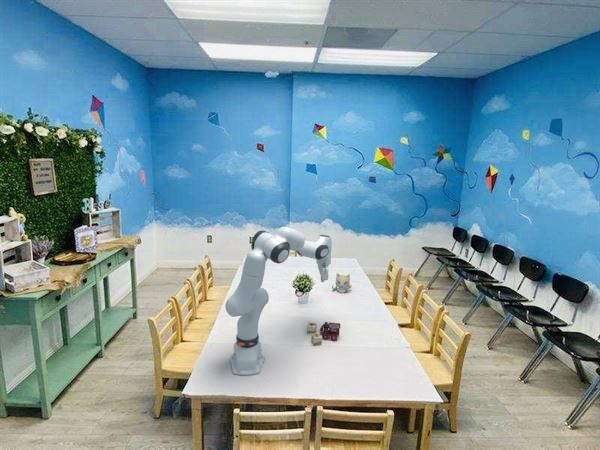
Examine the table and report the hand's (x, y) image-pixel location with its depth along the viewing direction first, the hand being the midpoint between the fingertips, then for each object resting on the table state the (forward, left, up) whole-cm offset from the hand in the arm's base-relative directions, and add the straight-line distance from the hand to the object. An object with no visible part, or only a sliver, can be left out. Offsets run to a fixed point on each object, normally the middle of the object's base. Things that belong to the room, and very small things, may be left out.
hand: (322, 281), depth 236 cm
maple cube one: (-18, +5, -32) cm, 37 cm away
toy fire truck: (-12, -4, -32) cm, 35 cm away
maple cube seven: (-5, +6, -32) cm, 33 cm away
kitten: (+56, -25, -32) cm, 69 cm away
